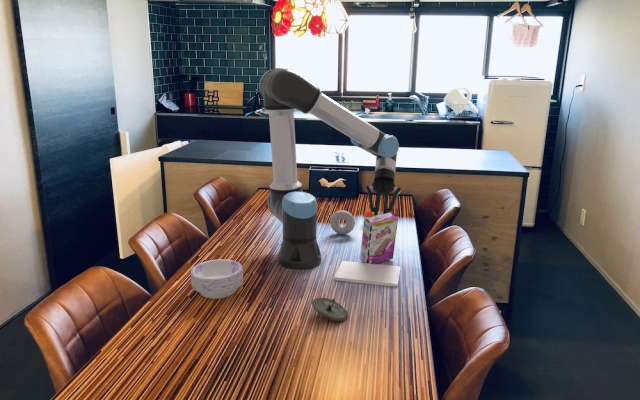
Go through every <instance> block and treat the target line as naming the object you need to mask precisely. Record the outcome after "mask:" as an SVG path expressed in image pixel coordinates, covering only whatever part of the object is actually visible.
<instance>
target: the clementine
mask: <svg viewBox="0 0 640 400" xmlns="http://www.w3.org/2000/svg"><path fill="white" fill-rule="evenodd" d="M374 215H375V213H374V212H371V210H370V208H369V209H367V210H366V211H365V212H364V214H363V219H364V218H366V217H371V216H374Z"/></svg>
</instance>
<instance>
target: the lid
mask: <svg viewBox="0 0 640 400" xmlns="http://www.w3.org/2000/svg"><path fill="white" fill-rule="evenodd" d="M311 305H312V307H313V309H314V311H316V312H317V313H318V315H319V314H320V316H322V317H324V318H327V319H328V320H331V321H334V322H344V321H345V320H346V319H347V318H348V317H349V314H348V311H347V310H346V309H345V308H344V306H342V305H341V304H340V303H339V302H336V299H335V298H332V299H330V298H327V297H316V298H314V299H312V301H311Z"/></svg>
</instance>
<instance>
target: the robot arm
mask: <svg viewBox="0 0 640 400" xmlns="http://www.w3.org/2000/svg"><path fill="white" fill-rule="evenodd" d="M258 84H259V87H258V89H259V92H260V95H261V97H262V99H263V110H264V111H265V112H266V113H267V114H268V119H269V131H270V132H269V133H270V134H269V135H270V146H271V147H270V149H271V163H272V164H271V165H272V178H273V179H272V182H271V184H269V194H268V196H267V207H268V209H269V211H270V213H271V214H272V215H273V216H274V217H275V218H277V220H279V222H281V223H282V241H281V244H280V246H279V250H278V253H277V263H278V264H279V265H280V266H282V267H284V268H288V269H292V270H303V269H304V270H305V269H310V268H314V267H315V268H316V267H317V266H318V265H320V264H321V263H322V252H321V251H320V247H319V244H318V241H317V229H318V228H317V223H318V222H317V221H318V219H317V217H318V213H317V212H318V205H317V199H316V197H315V196H314V195H312V194H311V193H308V192H305V191H303V184H302V183H301V182H300V181H299V180H298V168H297V147H296V129H295V112H297V111H299V112H301V113H302V114H304V115H305V114H306V115H307V114H310V115H313V116H314V117H316V118H317V119H319V120H320V121H322V122H323V123H325V124H327V125H328V126H330V127H331V128H334V129H335V130H336V131H339V132H340V133H342V134H344V135H345V136H347V137H349V139H350V142H351V143H352V144H353V145H355V146H356V147H357V148H360V149H362V150H363V151H366V152H367V153H369V154H371V155H373V156H374V157H375V158H376V159H375V169H374V176H373V177H374V179H373V182H372V183H371V185H366V186H365V190H366V191H365V192H366V193H367V195H368V201H369V207H370V208H369V209H370V210H371V212H374V213H375V215H374V216H376V215H381V214H386V213H392V214H393V210H394V209H395V208H394V207H395V206H396V205H395V204H396V202H397V199H398V197H399V195H400V194H401V189H402V188H401V187H397V186H396V184H395V178H396V177H395V176H396V174H395V173H396V169H397V168H396V166H397V155H398V151H399V148H400V144H399V142H398V138H397V137H396V136H394V135H393V134H391V135H390V134H387V133H385V132H383V131H382V130H381V129H378V128H377V126H376V127H375V125H373V124H370V122H367V121H366V120H364V119H363V118H362V117H360V116H358V115H356V114H355V113H354V112H352V111H350V110H349V109H348V108H346V107H344V106H343V105H341V104H340V103H338V102H336V101H335V100H333V99H332V98H331V97H329V96H327V95H326V94H324V93H323V92H322V89H321V87H319V86H318V85H316V84H314V83H313V82H312V81H310V80H309V79H307V78H306V77H305V76H304V75H302V74H301V73H299V72H298V71H296V70H294V69H290V68H280V67H276V68H272V69H269V70H267V71H265V73H264V74H262V76H261V78H260V80H259V83H258ZM373 190H374V192H375V194H376V199H375V205H374V203H373V202H374V201H373V194H372V192H373ZM392 192H393V195H392V198H391V201H390V203H388V202H389V195H390V194H391V193H392ZM382 196H384V197H383V209H382V210H383V211H382V210H381V211H380V206H381V205H380V204H381V198H382ZM388 204H389V205H388ZM374 206H375V207H374Z"/></svg>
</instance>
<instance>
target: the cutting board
mask: <svg viewBox="0 0 640 400" xmlns="http://www.w3.org/2000/svg"><path fill="white" fill-rule="evenodd" d="M401 270H402V267H401V266H397V265H387V264H379V263H374V264H369V263H364V262H357V261H349V260H348V261H345V260H342V261H341V263H340V265H339V267H338V268H337V271H336V273H335V275H334V277H333V278H334V279H333V280H334V281H340V282H349V283H356V284H357V283H359V284H367V285H374V286H375V285H377V286H384V287H385V286H386V287H394V286H395V288H397V287H398V285H399V280H400V275H401Z"/></svg>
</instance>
